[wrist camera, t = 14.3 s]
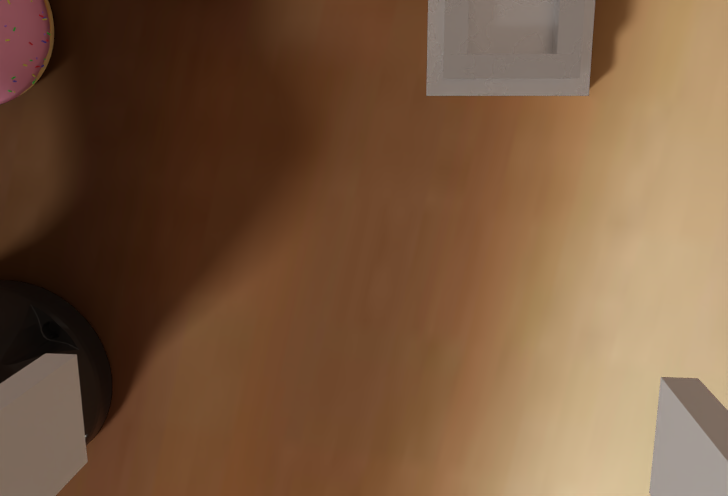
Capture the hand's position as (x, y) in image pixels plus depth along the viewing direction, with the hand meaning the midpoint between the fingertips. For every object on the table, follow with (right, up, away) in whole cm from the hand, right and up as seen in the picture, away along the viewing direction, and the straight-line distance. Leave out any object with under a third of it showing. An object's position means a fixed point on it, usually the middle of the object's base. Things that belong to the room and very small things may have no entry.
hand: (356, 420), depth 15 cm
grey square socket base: (+9, +19, +28) cm, 35 cm away
